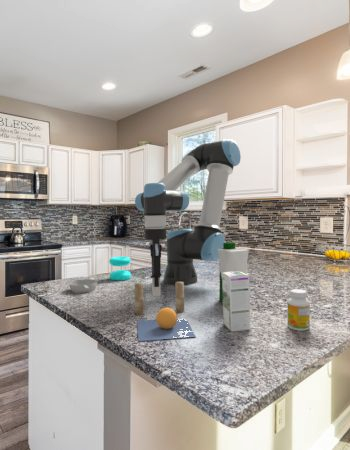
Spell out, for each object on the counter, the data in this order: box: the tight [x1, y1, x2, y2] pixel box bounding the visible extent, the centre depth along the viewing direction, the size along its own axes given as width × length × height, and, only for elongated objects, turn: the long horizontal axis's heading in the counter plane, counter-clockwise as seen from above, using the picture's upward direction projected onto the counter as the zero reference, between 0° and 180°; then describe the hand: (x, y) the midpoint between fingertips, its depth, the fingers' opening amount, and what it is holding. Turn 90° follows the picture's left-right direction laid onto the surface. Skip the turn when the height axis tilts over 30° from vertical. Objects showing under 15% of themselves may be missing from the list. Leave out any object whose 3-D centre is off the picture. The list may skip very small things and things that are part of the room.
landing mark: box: [137, 319, 197, 343], centre depth 82 cm, size 14×14×1 cm
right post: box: [174, 282, 185, 313], centre depth 97 cm, size 3×3×9 cm
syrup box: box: [222, 271, 251, 332], centre depth 82 cm, size 6×6×14 cm
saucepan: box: [68, 278, 98, 294], centre depth 122 cm, size 11×18×4 cm, turn 23°
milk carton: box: [218, 241, 250, 303], centre depth 106 cm, size 9×9×20 cm
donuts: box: [108, 256, 132, 281], centre depth 146 cm, size 10×10×10 cm
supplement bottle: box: [287, 288, 311, 332], centre depth 82 cm, size 5×5×10 cm
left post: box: [134, 282, 145, 316], centre depth 95 cm, size 3×3×9 cm
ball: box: [155, 307, 178, 329], centre depth 82 cm, size 6×6×6 cm
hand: (156, 295), depth 109 cm, fingers closed
